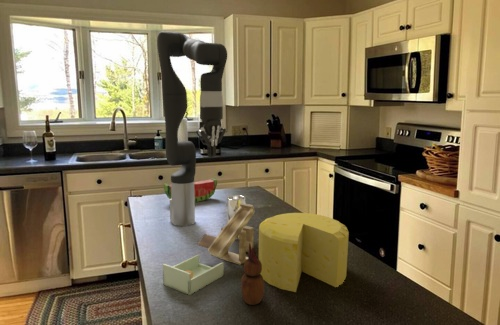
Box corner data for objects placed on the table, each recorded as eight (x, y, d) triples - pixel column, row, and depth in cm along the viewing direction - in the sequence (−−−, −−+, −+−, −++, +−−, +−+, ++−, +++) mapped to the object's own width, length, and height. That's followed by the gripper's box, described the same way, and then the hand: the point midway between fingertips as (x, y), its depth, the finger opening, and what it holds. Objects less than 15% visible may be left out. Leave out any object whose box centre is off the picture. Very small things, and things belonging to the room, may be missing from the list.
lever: (229, 206, 138) (225, 199, 136) (255, 212, 132) (253, 205, 130) (195, 250, 126) (191, 242, 124) (223, 258, 120) (219, 251, 118)
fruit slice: (212, 196, 203) (212, 177, 201) (218, 199, 198) (218, 179, 196) (163, 204, 189) (162, 183, 187) (168, 207, 184) (167, 186, 182)
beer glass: (243, 241, 144) (243, 200, 141) (224, 239, 145) (224, 199, 142) (247, 234, 150) (247, 195, 148) (229, 232, 152) (229, 194, 149)
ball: (181, 283, 112) (177, 275, 110) (188, 274, 114) (185, 266, 112) (190, 286, 110) (186, 278, 109) (197, 277, 112) (193, 269, 111)
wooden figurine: (240, 294, 106) (240, 241, 103) (261, 294, 106) (262, 240, 104) (241, 308, 99) (242, 251, 96) (265, 307, 100) (266, 250, 97)
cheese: (326, 303, 102) (329, 247, 100) (241, 277, 116) (241, 228, 113) (357, 266, 124) (360, 219, 122) (282, 248, 138) (284, 206, 135)
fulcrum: (238, 246, 138) (238, 219, 137) (260, 253, 133) (261, 224, 131) (217, 257, 129) (217, 228, 127) (240, 264, 124) (240, 234, 122)
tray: (163, 284, 111) (162, 264, 110) (198, 266, 122) (197, 248, 121) (189, 295, 105) (189, 274, 104) (223, 275, 117) (223, 256, 116)
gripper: (215, 104, 140) (215, 153, 143) (189, 105, 130) (190, 158, 133) (232, 105, 136) (232, 155, 139) (206, 106, 125) (207, 160, 128)
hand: (211, 156), depth 136 cm, fingers closed
